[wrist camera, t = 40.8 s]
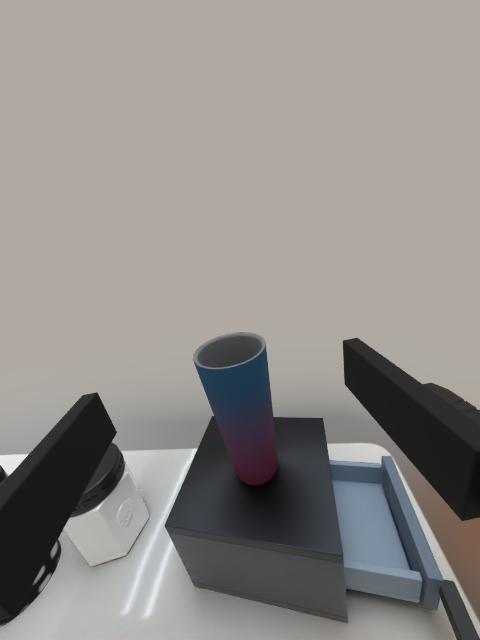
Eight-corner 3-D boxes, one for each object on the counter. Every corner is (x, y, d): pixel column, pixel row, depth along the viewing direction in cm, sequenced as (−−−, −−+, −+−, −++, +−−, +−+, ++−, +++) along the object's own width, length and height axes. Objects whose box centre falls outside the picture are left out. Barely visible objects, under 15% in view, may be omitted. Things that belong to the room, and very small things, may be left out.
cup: (271, 507, 22) (241, 374, 16) (215, 478, 25) (177, 362, 20) (294, 448, 27) (277, 334, 22) (245, 431, 30) (220, 330, 25)
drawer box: (327, 475, 34) (322, 417, 30) (348, 623, 21) (343, 556, 17) (227, 466, 38) (211, 416, 34) (193, 586, 26) (164, 525, 22)
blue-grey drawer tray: (402, 484, 29) (406, 422, 26) (526, 781, 14) (581, 726, 10) (279, 474, 34) (269, 419, 30) (267, 691, 18) (242, 630, 14)
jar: (113, 580, 27) (69, 517, 23) (71, 556, 30) (26, 497, 26) (161, 501, 35) (134, 443, 31) (123, 488, 38) (94, 434, 34)
